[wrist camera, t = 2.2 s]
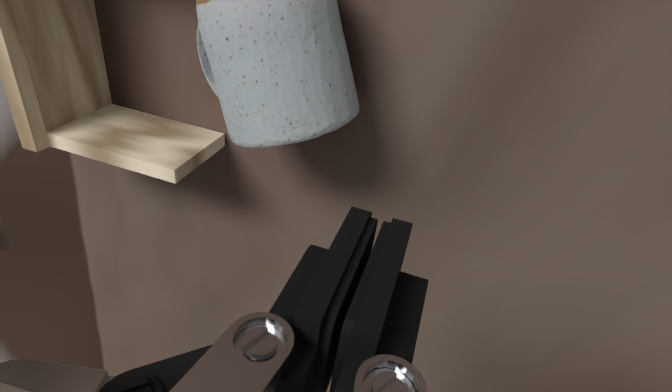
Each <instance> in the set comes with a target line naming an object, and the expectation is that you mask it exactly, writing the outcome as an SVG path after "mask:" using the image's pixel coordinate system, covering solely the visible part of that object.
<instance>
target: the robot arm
mask: <svg viewBox="0 0 672 392" xmlns="http://www.w3.org/2000/svg"><path fill="white" fill-rule="evenodd" d="M371 216H372V212H369V211H366V210H362V209H359V208H355V207H351V209H350V211H349V213H348V214H347V216H346V218H345V220H344V222H343V224H342V226H341V228H340V229H339V231H338V233H337V235H336V237H335V239H334V241H333V242H332V244H331V246H330V248H329V250H328V249H325V248H321V247H318V246H315V245H310V246H309V248H308V249H307V250H306V252H305V254H304V255H303V257H302V259H301V260H300V262H299V264H298V265H297V267H296V269H295V270H294V272H293V274H292V275H291V277H290V278H289V280H288V282H287V283H286V285H285V287H284V288H283V290H282V292H281V293H280V295H279V297H278V298H277V300H276V302H275V303H274V305H273V307H272V308H271V310H270V312H269V313H266V312H256V313H250V314H247V315H245V316H243V317H241V318H239V319H238V320H236V321H235V322H234V323H233V324H232V325H231V326H230V327H229V328H228V329H227V330H226V331H225V332H224V333H223V334H222V335H221V337H220V338H219V339H218V340H217V341H216V342H215V343H214V344H213V345H210V346H206V347H203V348H200V349H197V350H193V351H190V352H187V353H184V354H181V355H177V356H174V357H171V358H168V359H164V360H161V361H158V362H155V363H152V364H148V365H145V366H142V367H139V368H135V369H132V370H129V371H126V372H124V373H122V374H120V375H117V376H110V375H108V372H107V370H100V369H92V368H85V367H77V366H69V365H62V364H55V363H47V362H39V361H32V360H25V359H20V360H9V361H6V362H2V363H0V392H326V391H327V388H328V385H329V383H330V380H331V377H332V381H331V386H330V392H427V387H426V383H425V381H424V379H423V377H422V375H421V373H420V372H419V371H418V370H417V369H416V368H415V367H414V366H413V365H412V360H413V355H414V350H415V345H416V340H417V335H418V330H419V325H420V320H421V315H422V310H423V305H424V300H425V295H426V290H427V285H428V280H427V279H424V278H420V277H417V276H414V275H410V274H407V273H404V272H401V271H400V270H401V266H402V262H403V259H404V255H405V251H406V248H407V244H408V240H409V236H410V233H411V229H412V225H413V224H412V223H409V222H405V221H402V220H398V219H394V218H393V219H392V222H391V223H389V222H385V221H384V222H383V224H382V227H381V229H380V232H379V234H378V237H377V239H376V242H375V244H374V247H373V249H372V246H373V241H374V237H375V232H376V227H377V222H378V219H375V218H371ZM371 251H372V252H371ZM332 375H333V376H332Z"/></svg>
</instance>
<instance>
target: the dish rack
mask: <svg viewBox="0 0 672 392" xmlns="http://www.w3.org/2000/svg"><path fill="white" fill-rule="evenodd" d="M0 77H1V81H2V84H3V87H4V90H5V93H6V97H7V100H8V103H9V106H10V109H11V112H12V116H13V119H14V122H15V125H16V128H17V132H18V135H19V138H20V141H21V144H22V147H23V148H25V149H28V150H31V151H34V152H39V151H41V150H43V149H45V148H47V147H49V146H51V147H54V148H58V149H61V150H64V151H68V152H71V153H74V154H78V155H81V156H84V157H88V158H91V159H94V160H98V161H101V162H104V163H108V164H111V165H114V166H118V167H121V168H124V169H128V170H131V171H134V172H138V173H141V174H145V175H148V176H151V177H155V178H158V179H161V180H165V181H168V182H171V183H175V184H176V183H177V182H179V181H180V180H181V179H183V178H184V177H185V176H186V175H188V174H189V173H190V172H192V171H193V170H194V169H196V168H197V167H198V166H199V165H201V164H202V163H203V162H205V161H206V160H207V159H208V158H210V157H211V156H212V155H214V154H215V153H216V152H218V151H219V150H220V149H221V148H223V147H224V146H225V134H224V133H220V132H216V131H213V130H209V129H205V128H201V127H198V126H194V125H190V124H186V123H183V122H179V121H175V120H171V119H168V118H164V117H160V116H156V115H152V114H149V113H145V112H141V111H137V110H134V109H130V108H126V107H122V106H119V105H115V104H112V100H111V95H110V89H109V83H108V78H107V72H106V66H105V60H104V55H103V49H102V43H101V38H100V32H99V26H98V21H97V15H96V9H95V4H94V0H0Z"/></svg>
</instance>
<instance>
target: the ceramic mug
mask: <svg viewBox="0 0 672 392" xmlns="http://www.w3.org/2000/svg"><path fill="white" fill-rule="evenodd" d="M196 9H197V18H198V29H197V49H198V54H199V59H200V62H201V66H202V69H203V72H204V74H205V76H206V78H207V81H208V83H209V85H210V86H211V88H212V90H213V91H214V93H215V94H216V95H217V96H218V97H219V100H220V104H221V108H222V111H223V115H224V119H225V122H226V126H227V130H228V133H229V136H230V138H231V140H232V142H233V143H235V144H236V145H239V146H243V147H250V148H256V147H257V148H265V147H274V146H280V145H286V144H293V143H298V142H303V141H307V140H310V139H314V138H317V137H319V136H321V135H323V134H326V133H329V132H332V131H335V130H337V129H339V128H341V127H342V126H344V125H345V124H347V123H349V122H350V121H351V120H352V119H354V118H355V117H356V116H357V115H358V113H359V109H360V108H359V102H358V97H357V92H356V88H355V83H354V78H353V74H352V69H351V64H350V60H349V55H348V51H347V47H346V42H345V38H344V34H343V30H342V25H341V19H340V14H339V8H338V3H337V0H196Z"/></svg>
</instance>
